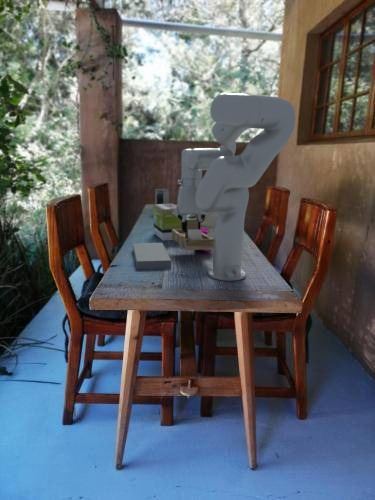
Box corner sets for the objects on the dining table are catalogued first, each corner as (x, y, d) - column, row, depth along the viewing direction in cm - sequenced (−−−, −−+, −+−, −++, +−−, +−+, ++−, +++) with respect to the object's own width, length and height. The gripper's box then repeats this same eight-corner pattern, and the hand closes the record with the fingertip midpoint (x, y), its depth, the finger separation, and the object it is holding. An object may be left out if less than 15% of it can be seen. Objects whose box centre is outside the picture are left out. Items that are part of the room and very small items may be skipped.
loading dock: (171, 268, 143) (171, 260, 142) (137, 269, 140) (137, 261, 140) (162, 249, 167) (162, 242, 167) (133, 250, 165) (132, 243, 164)
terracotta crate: (64, 405, 174) (64, 413, 175) (65, 410, 171) (66, 418, 172) (73, 403, 176) (74, 411, 177) (75, 408, 173) (75, 416, 174)
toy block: (208, 251, 161) (213, 233, 160) (193, 247, 161) (198, 229, 160) (208, 247, 176) (213, 230, 175) (194, 243, 176) (199, 226, 175)
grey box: (201, 241, 146) (201, 230, 145) (191, 242, 145) (191, 231, 144) (198, 239, 149) (198, 229, 149) (187, 240, 148) (187, 229, 148)
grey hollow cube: (153, 211, 258) (153, 188, 254) (178, 211, 261) (178, 188, 257) (156, 215, 244) (156, 191, 241) (181, 215, 247) (182, 191, 243)
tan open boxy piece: (213, 249, 143) (214, 224, 142) (186, 250, 141) (186, 224, 139) (195, 236, 166) (195, 215, 164) (171, 237, 164) (171, 215, 162)
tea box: (152, 233, 196) (152, 203, 192) (172, 232, 200) (172, 203, 196) (162, 240, 183) (162, 208, 179) (182, 239, 186) (183, 207, 182)
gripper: (170, 184, 144) (170, 234, 148) (216, 184, 147) (214, 233, 151) (167, 182, 151) (167, 230, 155) (211, 182, 154) (210, 229, 158)
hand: (190, 231), depth 153 cm, fingers closed on tan open boxy piece, 4 cm apart
